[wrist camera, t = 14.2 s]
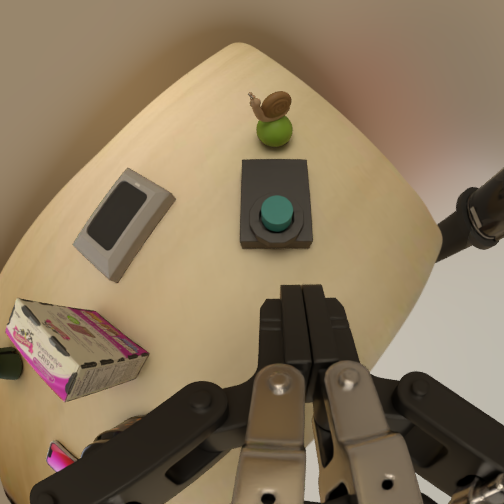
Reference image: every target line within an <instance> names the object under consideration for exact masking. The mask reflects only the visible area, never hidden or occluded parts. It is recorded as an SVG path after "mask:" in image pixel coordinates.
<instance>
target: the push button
mask: <svg viewBox="0 0 504 504" xmlns="http://www.w3.org/2000/svg"><path fill="white" fill-rule="evenodd" d="M292 215H293V206H292V204H291V202H290V201H289V200H288V199H287V198H285V197H283V196H279V195H275V196H271V197H269V198H267V199H266V200H265V201H264V202H263V204H262V207H261V217H262V223H263V225H264V226H265V227H266V228H267V229H269V230H270V231H274V232H280V231H283V230H285V229H286V228H288V226H289V225H290V223H291V220H292Z"/></svg>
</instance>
